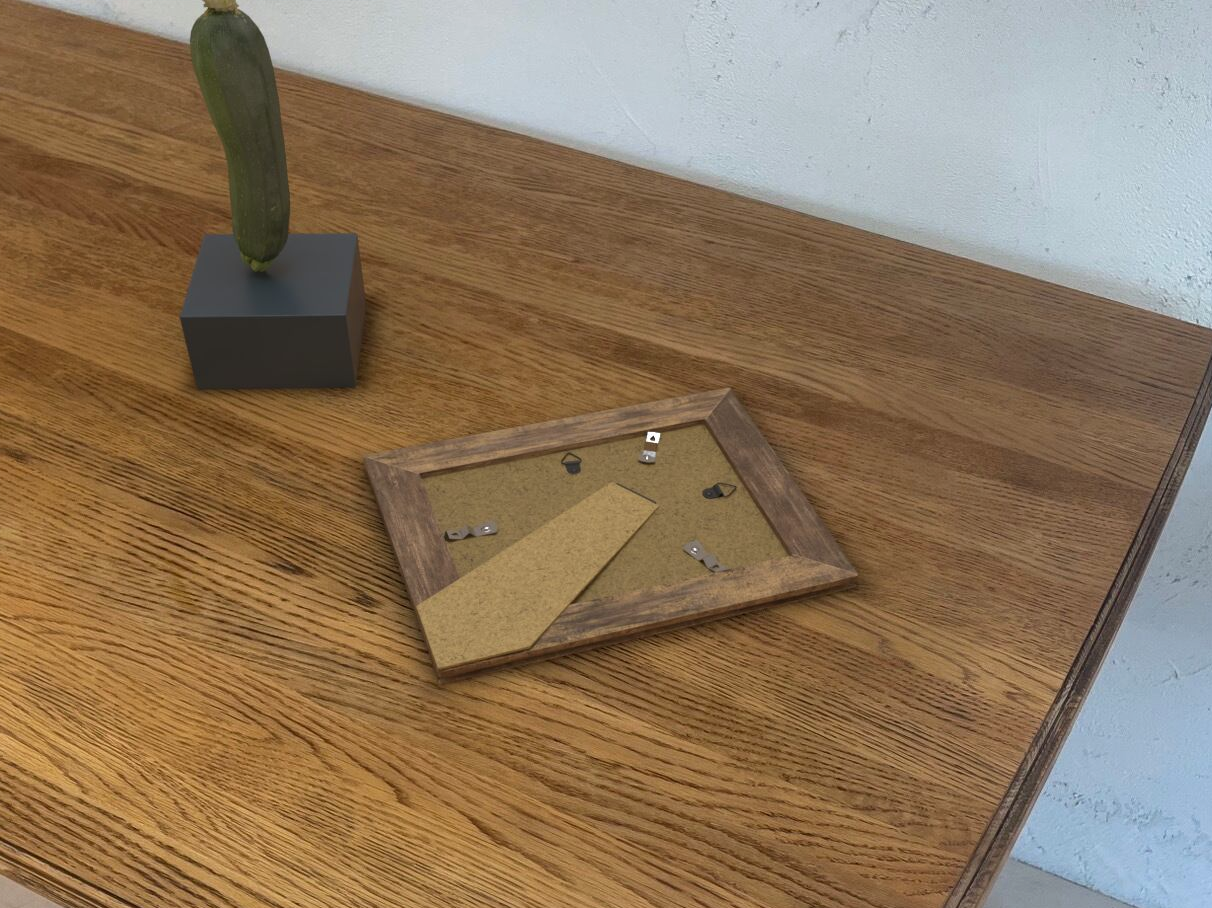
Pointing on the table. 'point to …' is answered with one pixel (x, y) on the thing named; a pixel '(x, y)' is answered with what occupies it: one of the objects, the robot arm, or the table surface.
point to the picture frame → (597, 531)
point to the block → (276, 315)
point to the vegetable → (245, 126)
